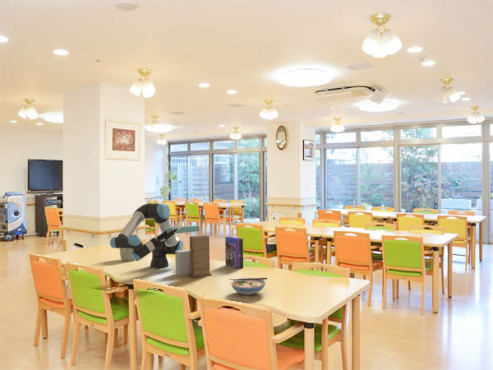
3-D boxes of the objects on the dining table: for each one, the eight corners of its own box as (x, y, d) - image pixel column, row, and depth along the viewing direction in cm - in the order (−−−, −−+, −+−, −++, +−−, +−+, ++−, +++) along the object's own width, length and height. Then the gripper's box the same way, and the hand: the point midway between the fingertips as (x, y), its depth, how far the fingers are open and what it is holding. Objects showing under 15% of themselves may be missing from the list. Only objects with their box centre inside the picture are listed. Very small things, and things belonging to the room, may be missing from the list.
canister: (120, 263, 356) (120, 239, 355) (116, 259, 371) (116, 236, 371) (141, 260, 364) (141, 237, 364) (136, 257, 380) (135, 235, 380)
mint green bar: (166, 233, 295) (166, 227, 295) (197, 230, 307) (197, 225, 307) (168, 234, 291) (168, 228, 291) (199, 231, 304) (199, 225, 303)
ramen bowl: (227, 299, 246) (227, 286, 246) (229, 289, 269) (229, 276, 269) (269, 299, 246) (268, 285, 246) (266, 288, 269) (266, 276, 269)
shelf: (175, 273, 313) (175, 250, 312) (199, 270, 323) (199, 248, 323) (179, 276, 306) (179, 252, 306) (203, 272, 316) (203, 249, 316)
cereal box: (225, 265, 341) (225, 236, 340) (230, 264, 344) (229, 236, 343) (238, 268, 328) (238, 239, 327) (243, 267, 331) (242, 238, 330)
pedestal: (188, 275, 306) (187, 236, 306) (206, 273, 314) (205, 234, 313) (193, 278, 299) (192, 237, 298) (211, 275, 306) (210, 236, 306)
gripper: (151, 247, 295) (177, 229, 306) (158, 250, 281) (185, 231, 291) (145, 238, 293) (172, 220, 304) (153, 242, 279) (180, 223, 289)
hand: (178, 226), depth 297 cm, fingers closed on mint green bar, 4 cm apart
